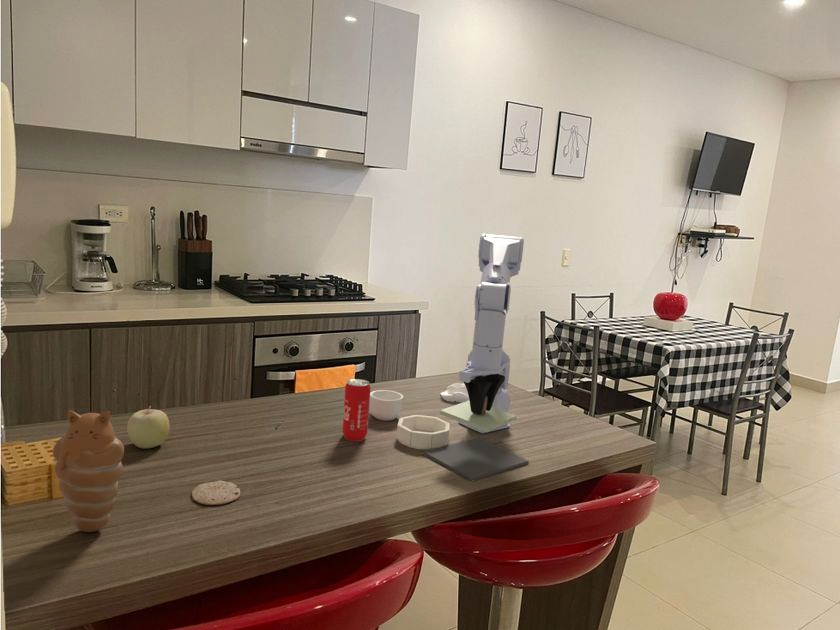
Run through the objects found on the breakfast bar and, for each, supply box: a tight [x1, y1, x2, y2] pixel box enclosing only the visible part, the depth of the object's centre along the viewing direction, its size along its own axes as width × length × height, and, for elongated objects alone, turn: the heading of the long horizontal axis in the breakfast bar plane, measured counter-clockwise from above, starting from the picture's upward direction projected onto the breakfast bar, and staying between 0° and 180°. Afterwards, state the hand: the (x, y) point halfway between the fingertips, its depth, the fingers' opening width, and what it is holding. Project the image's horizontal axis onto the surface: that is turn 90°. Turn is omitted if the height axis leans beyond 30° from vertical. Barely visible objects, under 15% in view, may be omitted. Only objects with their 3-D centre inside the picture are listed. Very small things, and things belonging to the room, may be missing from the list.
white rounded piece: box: [440, 382, 469, 403], centre depth 165 cm, size 10×4×10 cm
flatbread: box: [191, 479, 241, 506], centre depth 103 cm, size 8×8×1 cm
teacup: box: [369, 389, 404, 422], centre depth 146 cm, size 10×8×5 cm
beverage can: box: [342, 378, 371, 442], centre depth 131 cm, size 5×5×12 cm
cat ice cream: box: [52, 409, 125, 533], centre depth 88 cm, size 9×8×18 cm
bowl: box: [396, 414, 451, 451], centre depth 134 cm, size 11×11×4 cm
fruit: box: [126, 405, 171, 450], centre depth 119 cm, size 8×7×8 cm
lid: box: [439, 396, 518, 433], centre depth 125 cm, size 11×11×4 cm
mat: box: [422, 437, 530, 482], centre depth 127 cm, size 16×14×1 cm
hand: (480, 411), depth 125 cm, fingers closed on lid, 3 cm apart
